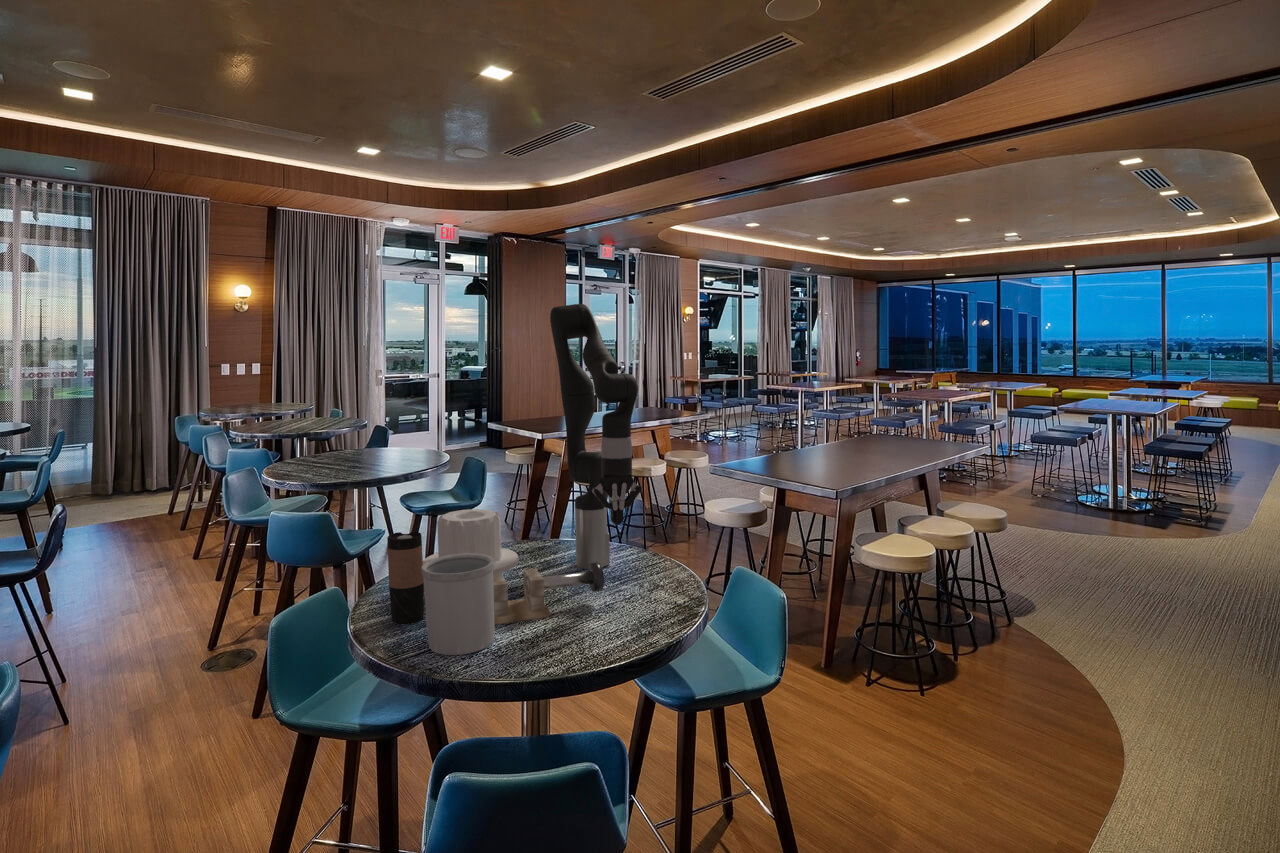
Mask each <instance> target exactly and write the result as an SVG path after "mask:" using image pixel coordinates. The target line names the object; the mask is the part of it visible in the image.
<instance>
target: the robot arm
mask: <svg viewBox="0 0 1280 853" xmlns="http://www.w3.org/2000/svg"><path fill="white" fill-rule="evenodd" d="M549 319H550V320H549V321H550V322H549V323H550V329H551V334H552V335H551V336H552V339H553V345H554V349H555V354H556V360H557V367H558V375H559V383H560V393H561V402H562V410H563V414H564V424H565V431H566V432H565V434H566V451H567V452H566V453H567V454H566V456H567V457H566V459H567V469H568V475H569V477H570V479H571V481H573V482H574V483H577V484H584V485H585V484H586V485H588V491H587V492H586V493H584V494H580V495H578V496H576V497H575V499H574V521H575V524H574V526H575V527H574V530H575V531H574V532H575V537H574V538H575V566H576V567H577V568H579V569H585V570H588V566H589V564H590V563H595V562H599V563H600V564H601V566H602V568H604V566H605V567H607V565H609V566H610V564H611V562H610V561H611V560H610V556H611V554H610V533H609V532H608V514H607V513H608V509H609V510H610V521H611V522H612V524H613V525H615V526H621V525H622V523H623V522H624V510H625V509H626V508H629V507H631V506H632V504H633V502H634V501H635V500H636V499H637V498H638V495H640V493H641V491H643V487H642V486H641V485H638V484H637V483H636V482H635V480H634V478H633V445H632V430H631V429H632V425H631V424H632V422H631V421H632V416H633V414H634V413H633V412H634V408H635V404H636V401H637V397H638V393H639V385H638V381H637V379H636V378H635V376H634V375H633V374H632V373H631V374H630V373H619V366H618V364H617V362H616V360H615V358H614V357H613V355H612V354H611V353H610V352H611V351H609V349H608V348H607V346H606V344H605V342H604V340H603V337H602V334H601V332H600V329H599V327H598V325H597V322H596V320H595V318H594V315H593V313H592V311H591V309H590V308H589V307H588V306H587V305H586V304H584V303H575V304H568V305H566V304H565V305H560V306H554V307H553V308H551V310H550V315H549ZM584 337H585V338H586V341H585V344H584V347H583V349H582V350H583V351H582V360H583V364H584V365H585V367H586V369H587V371H588V372H589V374H590V375H591V378H590V377H589V375H588V374H587V373H586V371H585V370H584V369H583V368H582V367H581V366H580V365H579V363H578V362H577V361H576V359H575V357H574V356H573V354H572V351H571V350H570V346H569V345H570V344H569V340H573V339H581V338H584ZM591 379H592V380H591ZM596 399H598V400H599V401H600V402H602V403H605V404H611V403H613V404H616V403H617V404H618V406H617V408H616V409H615V410H613V411H610V412H606V413H604V415H603V416H602V419H601V420H602V421H601V426H602V428H601V429H602V430H601V431H602V432H601V434H602V435H601V436H602V437H601V448H600V449H601V452H592V451H587V450H586V441H585V439H586V431H587V430H588V426H589V424H590V422H591V420H592V418H593V416H594V414H595V410H596ZM628 492H629V493H628ZM608 500H609V501H608Z"/></svg>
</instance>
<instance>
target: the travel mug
mask: <svg viewBox="0 0 1280 853" xmlns="http://www.w3.org/2000/svg"><path fill="white" fill-rule="evenodd" d="M422 543H423V542H422V533H421V532H419V531H414V530H413V531H411V532H409V533H402V532H394V533H391V534H389V535H388V536H387V564H388V565H387V566H388V589H389V591H388V592H389V602H390V604H389V605H390V611H391V612H390V614H391V622H392V623H393V624H394V623H396V624H395V625H398V624H408V625H413V624H412V623H414V624H417V623H419V622H421V621H422V620H423V619H424V617H425V594H424V578H423V575H422V569H421V568H422V565H423V560H424V559H423V558H424V557H423V544H422Z"/></svg>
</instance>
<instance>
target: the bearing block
mask: <svg viewBox="0 0 1280 853" xmlns="http://www.w3.org/2000/svg"><path fill="white" fill-rule="evenodd" d="M542 577H543V576H542V575H541V574H540V572H539V571H538V569H537V568H531V569H529V568H528V569H523V594H524V595H523V597H524V598H521V599H514V600H509V599H508V582H507V581H506V579H505V578H504V575H503V574H502V573H495V574H493V591H494V626H496V625H501V624H510V623H517V622H522V621H523V622H524V621H528V620H529V621H530V620H536V619H537V620H538V619H544V618H550V609H549V608H548V607H547V605H546V604H545V590H544V579H543V578H542ZM527 579H529V592H528V591H527V587H526V580H527Z"/></svg>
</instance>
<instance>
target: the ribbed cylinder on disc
mask: <svg viewBox="0 0 1280 853" xmlns="http://www.w3.org/2000/svg"><path fill="white" fill-rule="evenodd" d="M501 522H502V521H501V515H500V513H498V511H492V510H491V509H478V508H475V509H474V508H473V509H470V508H469V509H461V510H454V511H449V512H446V513H445V514H440V516H439V517H438V520H437V523H436V526H437V528H436V529H437V551H438V552H436V553H434V554H431V555H429V556H427V557H425V558H424V559H423V564H424V563H426V562H428V561H430V560H432V559H435V558H439V557H443V556H447V555H453V554H464V553H475V554H484V555H487V556H490V557H491V558H492V559H493V561H494V567H493V574H495V573H501V574H502V573H504V572H507V571H510V570H511V569H513V568H514V567H516V566H517V565H518V563H519V555H518V554H517V552H515V551H513V550H511V549H508V548H504V547H502V529H501V528H502V526H501V525H502V524H501Z"/></svg>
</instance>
